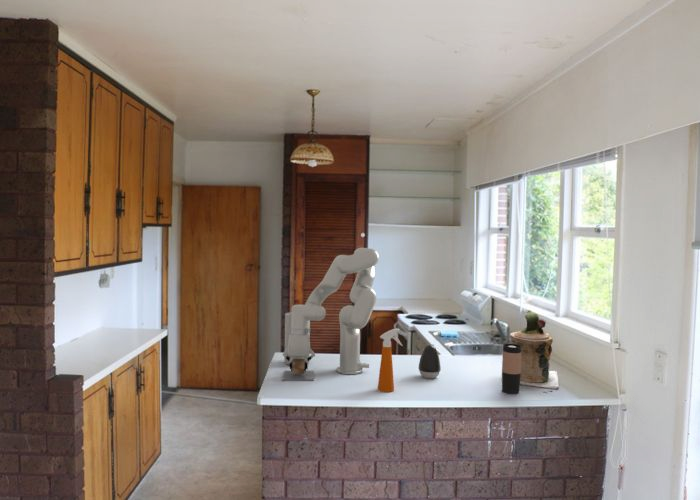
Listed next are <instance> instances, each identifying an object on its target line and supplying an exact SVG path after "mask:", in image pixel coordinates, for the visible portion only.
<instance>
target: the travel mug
mask: <svg viewBox="0 0 700 500" xmlns="http://www.w3.org/2000/svg"><path fill="white" fill-rule="evenodd" d="M501 363H502V366H501V391H502V393H505V394H508V395H517V394H518V395H519V394H520V389H521V384H520V375H521V346H520V345H517V344H511V343H504V344H503V345H502V362H501Z"/></svg>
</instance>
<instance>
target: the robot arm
mask: <svg viewBox="0 0 700 500" xmlns="http://www.w3.org/2000/svg"><path fill="white" fill-rule="evenodd" d="M379 260H380V256H379V253H378V252H377V250H375V249H373V248H369V247H359V248H356V249H355V250H354V252H353V254H349V255H347V254H339V255H337V256H335V258H334V260H333V261H332V263H331V264H330V267H329V268H328V270H327V271H326V273H325V275H324V277H323V278H322V281H321V282H320V283H319V284H318V285H317V286H316V287H315V288H314V289H313V290H312V292H311V293H310V295H308V298H307V300H306V301H305V303H304V304H301V303H300V304H294V305H292V307H291V312H292V316H291V334H290V335H289V341H288V348H287V349H286V351H285V350H284V351H283V352H282V357H284V359H285V358H286V359H287V360H288V361H289V362H290V365H289V369H290V371H292V361H293V360H292V359H293V357H304V359H305V367H304V371H307V370H308V367H309V366H308V364H309V363H310V361H311V360H312V359H313V358H314V357H315V356H316V353H315V352H314V350H312V348H311V337H309V334H307V333H308V332H310V333H311V328H310V329H308V320H310V322H312V321H313V322H320V321H323V320H324V319H325V317H326V316H327V311H326V308H325V307H324V306H322V304H323V302H325V300H326V299H327V298H328V297H329V296H330V295H332V294H334V293H336V292H337V291H338V290H339V289H340V287H341V286H342V283H343V281H344V279H345V278H346V276H347V275H351V274H355V273H357V274H356V277H355V280H354V282H353V285H352V287H351V290H350V292H349V300H350V301H351V302H352V303H353V304H354V305H350V304H348V305H345V306H343V307H342V308H341V309H340V311H339V315H338V316H339V317H338V320H339V326H340V327H339V330H340V333H339V336H340V338H339V340H340V341H339V343H340V344H339V366H337V367H336V368H335V369H336V372H337V373H339V374H343V375H357V374H361V373H363V372H364V371H363V368H365V369H369V368H370V363H366V362H361V359H360V356H361V355H360V354H361V353H360V352H361V329H363V328H365V327H366V326H367V324H368V322H369V320H370V318H371V315H372V313H373V310H374V307H375V305H376V302H377V294H376V291H375V289H373V288H372V287H373V284H374V281H375V278H376V277H375V276H376V268H375V266H376V264H378V262H379ZM287 353H288V355H289V356H291V357H289V356H288V355H287ZM307 356H309V357H307ZM308 362H309V363H308Z"/></svg>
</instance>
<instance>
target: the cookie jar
mask: <svg viewBox="0 0 700 500" xmlns="http://www.w3.org/2000/svg"><path fill="white" fill-rule="evenodd" d="M524 318H525V319H526V327H525V328H523V329H521V330H519V331H514V332H511V333H510V334H509V338H510V340H511V341H510V344H517V345H520V346H521V375H520V386H527V387H528V386H530V387H537V388H544V389H550V390H556V389H558V387H559V386H560V383H559V381H560V380H559V377H558V372H557V370H556V371H555V370H550V362H549V361H550V360H551V354H552V351H553V347H552V343H553V338H552V337H551V335H550V333H546V332H545V331H544V329H543V328H545V327H546V324H547V322H546V320H544V319H543V318H539V314H537V313H536V312H533V311H531V310H530V309H528V310H527V312H526V314H525V315H524Z"/></svg>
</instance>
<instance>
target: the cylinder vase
mask: <svg viewBox="0 0 700 500" xmlns="http://www.w3.org/2000/svg"><path fill="white" fill-rule="evenodd" d="M291 316H292V311H290V312H286V313H285V314H284V352H285V351H286V349H287V348H288V341H289V335H290V334H291ZM308 329H311V321H310V320H308ZM310 333H311V332H308V333H307V334H309V337H310V335H311V334H310ZM310 338H311V337H310ZM287 355H288V353H287ZM288 356H289V355H288ZM309 356H310V355H309ZM309 356H307V357H309ZM289 357H291V356H289ZM293 359H304V357H293ZM293 359H292V360H293ZM309 363H310V361H309V362H308V364H309ZM284 364H286V365H287V366H290V362H289V361H288V360H287V359H286V358H285V357H284Z"/></svg>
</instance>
